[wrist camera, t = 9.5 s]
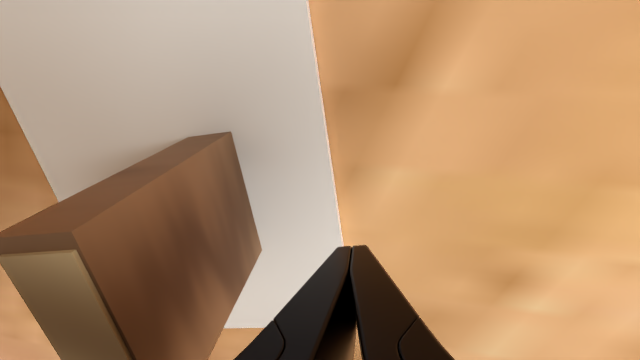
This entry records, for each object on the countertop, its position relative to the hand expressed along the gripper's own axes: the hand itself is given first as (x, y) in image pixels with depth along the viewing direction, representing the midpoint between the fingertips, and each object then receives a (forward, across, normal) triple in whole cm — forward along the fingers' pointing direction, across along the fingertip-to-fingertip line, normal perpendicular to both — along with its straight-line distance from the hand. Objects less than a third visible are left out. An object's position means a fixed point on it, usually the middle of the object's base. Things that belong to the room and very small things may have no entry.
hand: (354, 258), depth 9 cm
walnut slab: (+5, +6, 0) cm, 8 cm away
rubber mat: (+6, +8, -1) cm, 10 cm away
